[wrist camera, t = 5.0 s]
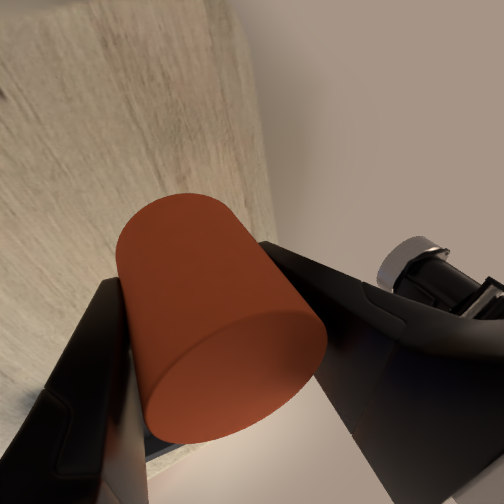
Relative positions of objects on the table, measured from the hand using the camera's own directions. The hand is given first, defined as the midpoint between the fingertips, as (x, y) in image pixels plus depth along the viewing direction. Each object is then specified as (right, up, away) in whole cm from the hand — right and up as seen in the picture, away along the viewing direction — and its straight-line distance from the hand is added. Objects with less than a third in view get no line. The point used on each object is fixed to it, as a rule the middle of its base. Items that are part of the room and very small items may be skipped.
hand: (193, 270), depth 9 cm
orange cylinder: (0, +1, +1) cm, 1 cm away
